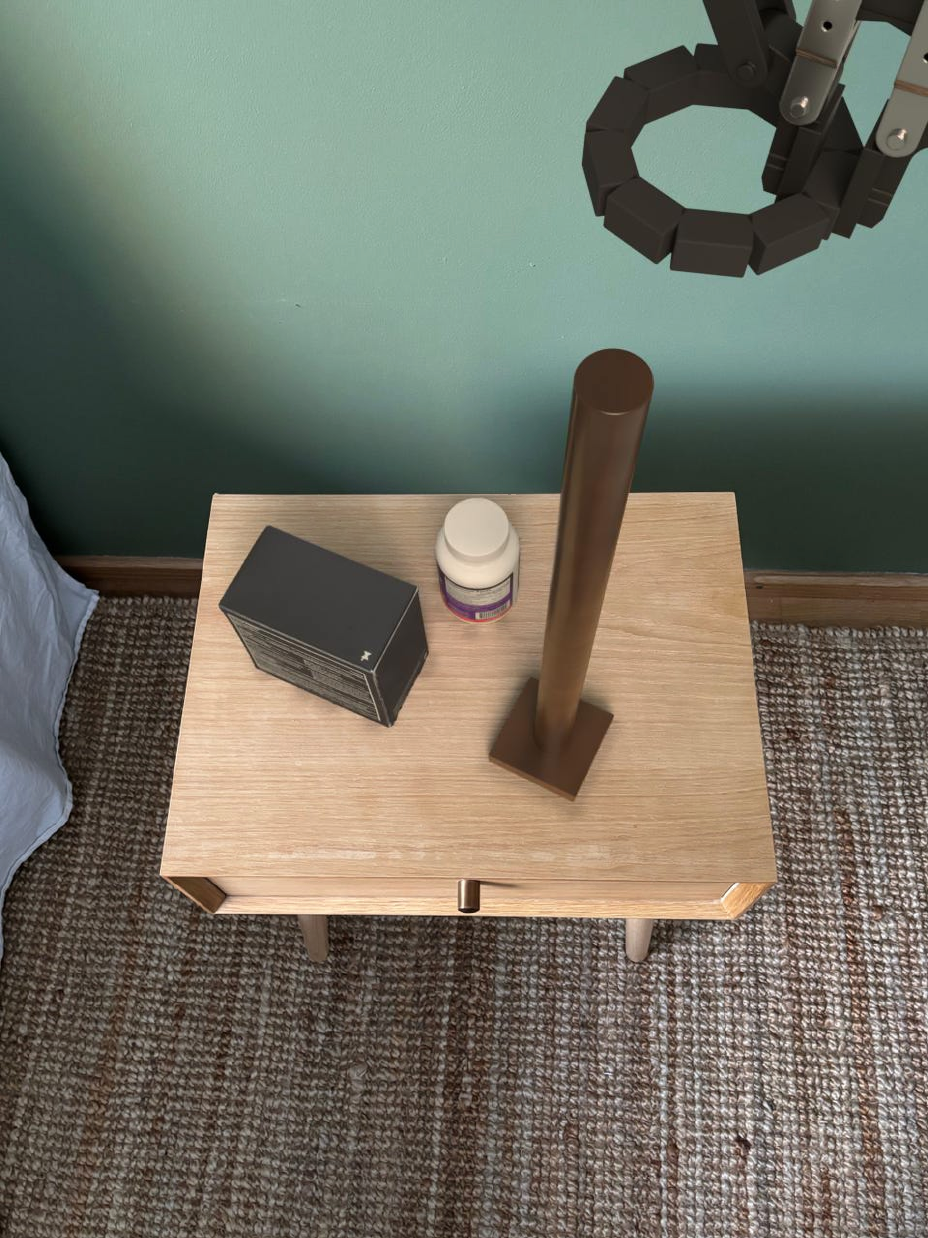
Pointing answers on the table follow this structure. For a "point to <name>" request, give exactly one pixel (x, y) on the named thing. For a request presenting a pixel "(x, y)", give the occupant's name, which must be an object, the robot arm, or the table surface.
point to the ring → (700, 233)
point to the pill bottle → (478, 561)
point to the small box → (328, 624)
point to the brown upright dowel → (580, 574)
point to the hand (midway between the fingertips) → (818, 206)
